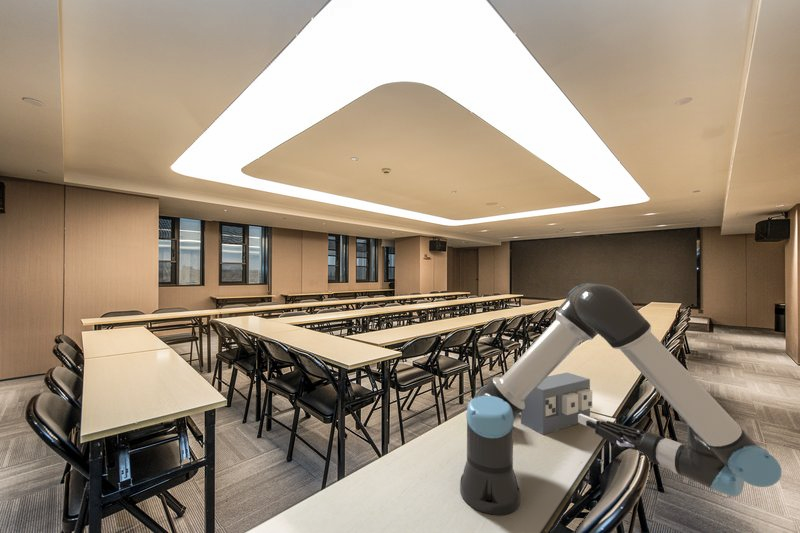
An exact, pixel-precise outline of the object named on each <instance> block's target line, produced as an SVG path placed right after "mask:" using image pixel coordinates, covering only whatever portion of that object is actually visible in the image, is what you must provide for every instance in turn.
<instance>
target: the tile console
mask: <svg viewBox="0 0 800 533" xmlns="http://www.w3.org/2000/svg"><path fill="white" fill-rule="evenodd" d="M582 389H589V390H591V380H590V378H588V377H583V376H581V375H577V374H573V373H570V372H563V373H556V374H553V375H548V376H547V377H546V378H545V379H544V380H543V381H542V382H541V384H540V385H539V386H538V387H537V388H536V389H535V390H534V391H533V392H532V393H531V394H530V395H529V396H528V397H527V398H526V399H525V408H524V410H523V411H522V412H521V413H520V424H521V425H523V426H525V427H527V428H529V429H531V430H532V431H535V432H536V433H539V434H540V435H542V436H544V435H547V434H549V433H554V432H555V431H556V432H557V431H559V430H563V429H566V428H568V427H572V426H573V425H577V424H579V423H578V414H583V415H586V416H588V417H591V408H589V409H586V410H583V411H582V410H579V409H578V412H576V413H573V414H570V415H565V414H563V413H562V394H566V393H570V392H573V393H576V394H577V391H578V390H582ZM554 396H556V414H553V415H549V416H546V398H550V397H554Z"/></svg>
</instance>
